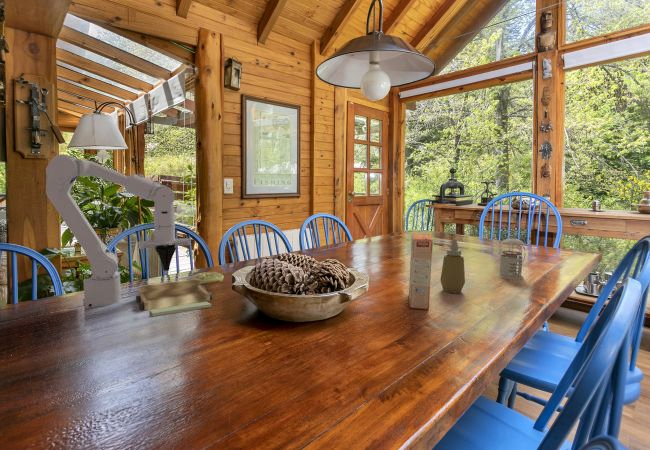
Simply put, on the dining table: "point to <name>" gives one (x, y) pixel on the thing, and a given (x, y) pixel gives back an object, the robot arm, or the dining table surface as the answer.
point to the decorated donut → (209, 277)
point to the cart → (171, 294)
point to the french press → (511, 260)
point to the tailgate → (180, 308)
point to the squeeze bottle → (453, 270)
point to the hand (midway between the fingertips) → (166, 270)
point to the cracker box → (420, 270)
